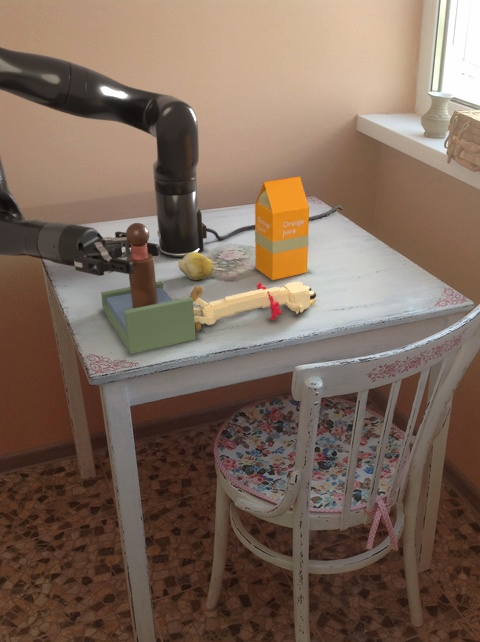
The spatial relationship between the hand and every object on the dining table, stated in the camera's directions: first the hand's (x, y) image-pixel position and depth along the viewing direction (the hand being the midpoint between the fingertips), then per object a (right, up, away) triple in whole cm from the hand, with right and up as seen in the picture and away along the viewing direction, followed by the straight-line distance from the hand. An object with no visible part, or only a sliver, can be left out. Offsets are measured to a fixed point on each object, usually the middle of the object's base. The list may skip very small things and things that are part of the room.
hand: (145, 259), depth 123 cm
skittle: (-1, -8, +6) cm, 10 cm away
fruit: (+7, +1, +26) cm, 27 cm away
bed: (-1, -11, +8) cm, 13 cm away
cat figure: (+19, -9, +11) cm, 24 cm away
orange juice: (+24, +3, +30) cm, 38 cm away
